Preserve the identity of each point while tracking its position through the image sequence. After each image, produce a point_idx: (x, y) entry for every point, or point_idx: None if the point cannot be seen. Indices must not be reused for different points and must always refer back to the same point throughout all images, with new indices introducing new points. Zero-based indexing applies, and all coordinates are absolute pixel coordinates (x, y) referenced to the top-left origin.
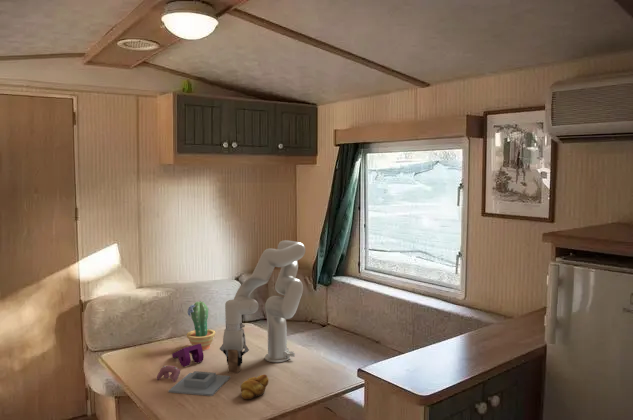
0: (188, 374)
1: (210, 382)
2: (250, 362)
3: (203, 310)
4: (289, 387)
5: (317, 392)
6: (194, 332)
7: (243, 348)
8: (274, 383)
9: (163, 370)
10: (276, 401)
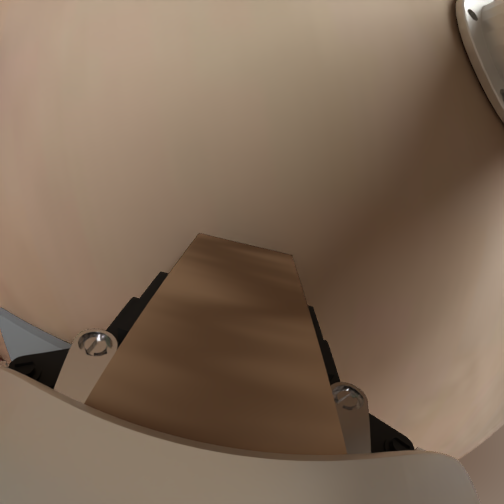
0: (2, 331)
1: None
2: (366, 68)
3: None
4: (465, 425)
5: (498, 423)
6: None
7: (412, 458)
8: (442, 417)
9: None
10: None
